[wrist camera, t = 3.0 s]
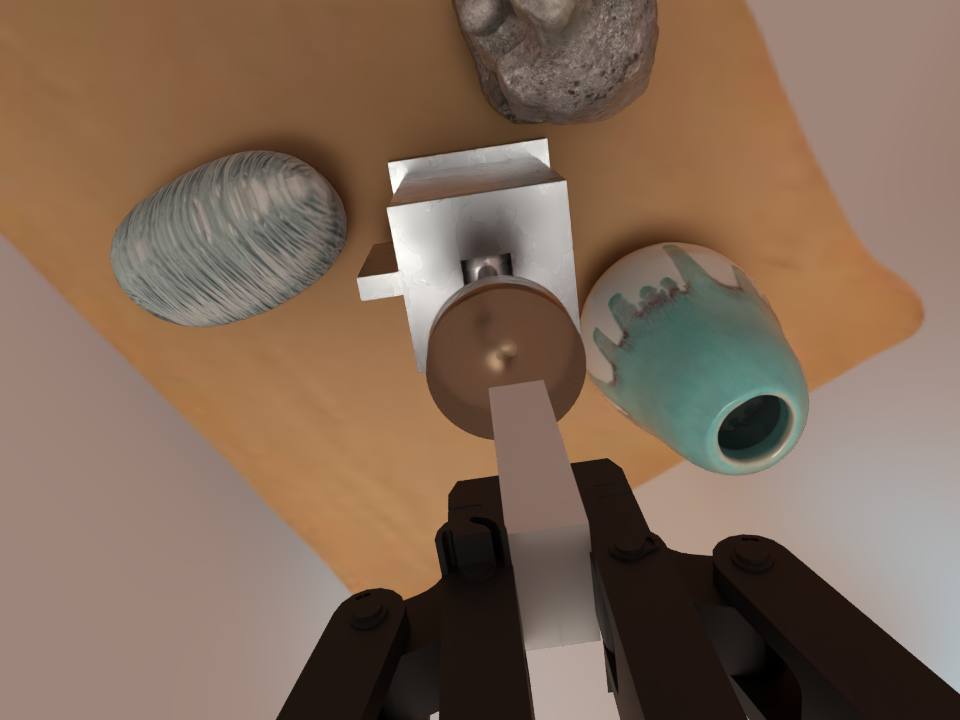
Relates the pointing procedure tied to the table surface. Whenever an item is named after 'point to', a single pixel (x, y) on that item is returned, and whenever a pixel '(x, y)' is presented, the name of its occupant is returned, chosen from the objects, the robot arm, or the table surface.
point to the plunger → (500, 344)
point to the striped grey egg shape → (229, 239)
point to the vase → (695, 357)
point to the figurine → (560, 55)
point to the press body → (471, 228)
